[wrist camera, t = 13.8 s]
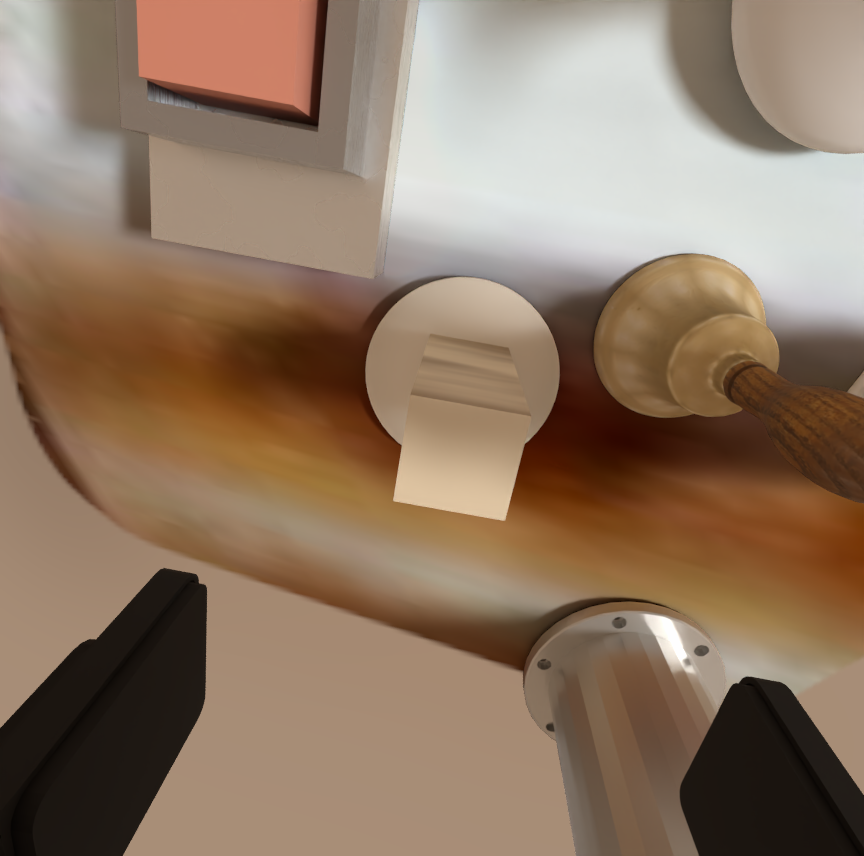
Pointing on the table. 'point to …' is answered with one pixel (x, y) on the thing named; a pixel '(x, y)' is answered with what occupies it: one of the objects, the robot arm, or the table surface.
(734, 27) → the flower in vase
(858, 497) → the hand bell
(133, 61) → the base
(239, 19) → the button
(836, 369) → the table surface
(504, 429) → the pale wood brick
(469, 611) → the table surface
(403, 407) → the coaster
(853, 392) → the decorative candle
